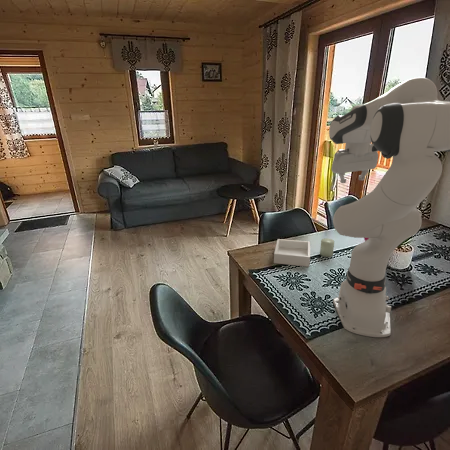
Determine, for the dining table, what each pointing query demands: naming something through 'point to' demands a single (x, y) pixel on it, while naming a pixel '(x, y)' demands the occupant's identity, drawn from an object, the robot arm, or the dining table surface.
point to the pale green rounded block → (327, 247)
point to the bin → (292, 252)
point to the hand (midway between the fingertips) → (352, 181)
